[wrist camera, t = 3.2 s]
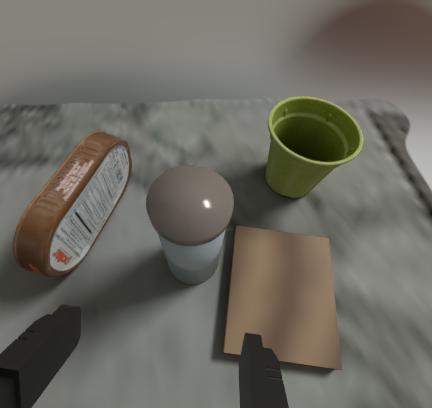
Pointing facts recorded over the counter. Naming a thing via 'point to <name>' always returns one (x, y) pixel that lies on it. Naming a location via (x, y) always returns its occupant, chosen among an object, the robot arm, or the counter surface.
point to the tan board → (283, 296)
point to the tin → (73, 206)
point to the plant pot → (308, 143)
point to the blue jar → (190, 219)
